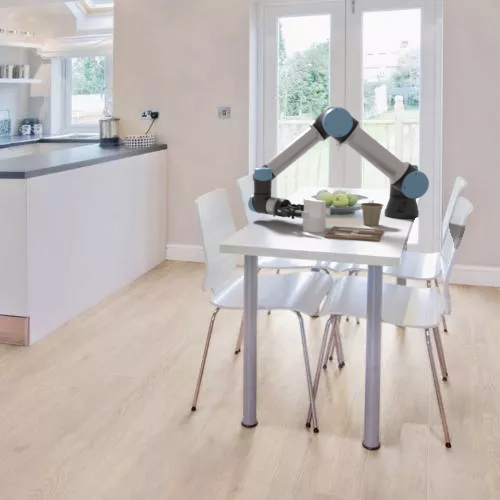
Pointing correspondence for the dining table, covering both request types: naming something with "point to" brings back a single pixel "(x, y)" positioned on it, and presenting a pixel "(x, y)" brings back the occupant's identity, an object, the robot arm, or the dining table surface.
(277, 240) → the dining table surface
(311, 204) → the base with upright slab
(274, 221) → the dining table surface
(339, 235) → the letter board
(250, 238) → the dining table surface
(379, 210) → the flower pot
